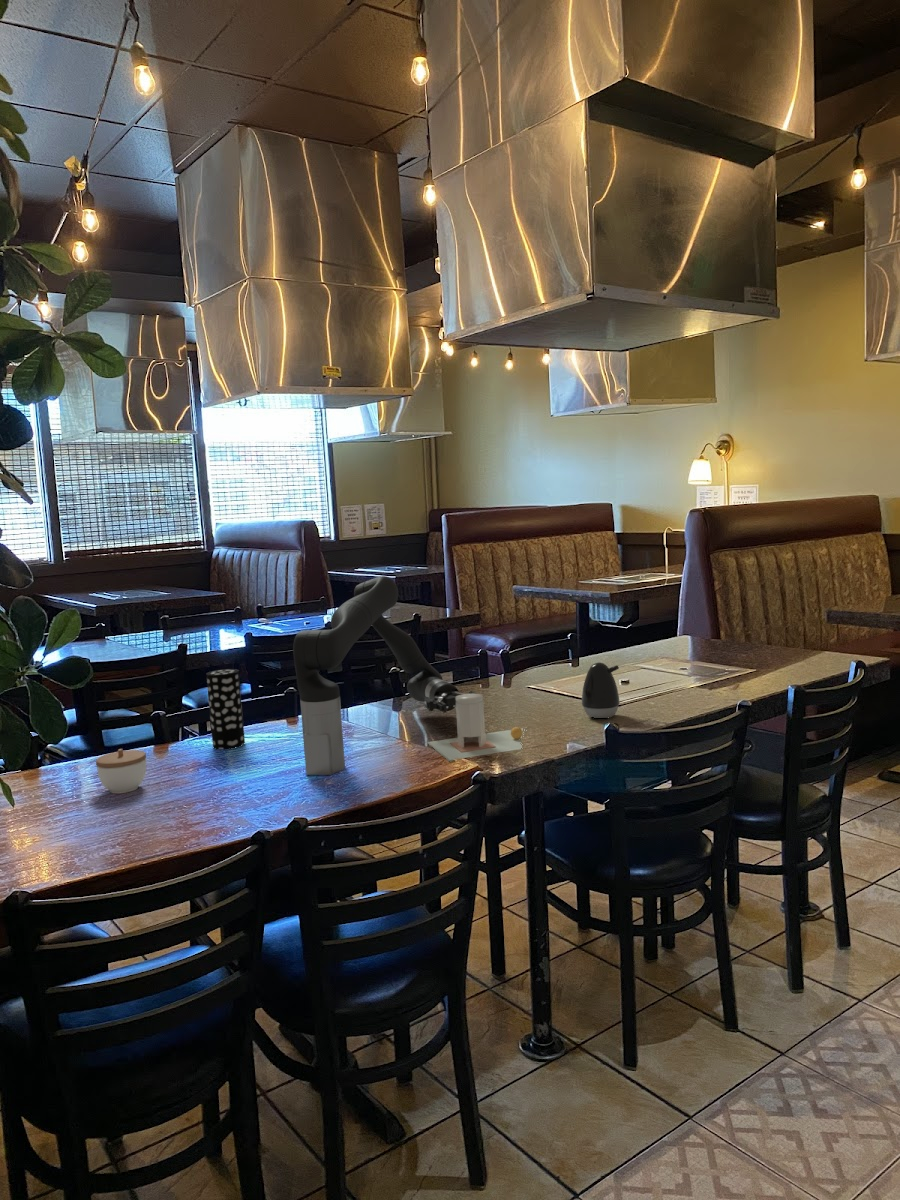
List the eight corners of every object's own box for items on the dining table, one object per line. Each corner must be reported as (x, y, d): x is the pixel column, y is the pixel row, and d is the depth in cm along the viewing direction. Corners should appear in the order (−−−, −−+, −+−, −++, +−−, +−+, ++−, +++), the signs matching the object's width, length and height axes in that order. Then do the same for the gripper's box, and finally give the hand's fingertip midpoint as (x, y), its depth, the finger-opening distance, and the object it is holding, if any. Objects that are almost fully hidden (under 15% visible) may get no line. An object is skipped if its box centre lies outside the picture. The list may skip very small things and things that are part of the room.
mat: (535, 728, 232) (535, 725, 232) (564, 744, 215) (564, 741, 215) (427, 743, 222) (427, 741, 222) (449, 762, 205) (449, 759, 205)
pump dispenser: (618, 722, 233) (615, 666, 231) (579, 721, 236) (576, 666, 235) (623, 712, 242) (621, 659, 241) (586, 712, 246) (583, 659, 244)
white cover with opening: (489, 745, 215) (486, 697, 213) (463, 749, 213) (460, 700, 211) (480, 739, 221) (477, 692, 220) (454, 743, 219) (451, 695, 218)
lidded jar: (91, 791, 200) (87, 751, 199) (136, 779, 207) (132, 740, 206) (111, 800, 192) (106, 759, 191) (157, 787, 200) (153, 747, 199)
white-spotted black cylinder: (250, 741, 236) (244, 668, 234) (235, 750, 228) (228, 675, 226) (223, 741, 238) (216, 669, 236) (207, 749, 230) (200, 675, 228)
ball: (521, 740, 219) (521, 728, 218) (510, 740, 219) (509, 728, 219) (523, 737, 222) (522, 725, 221) (511, 737, 222) (511, 725, 222)
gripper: (416, 684, 235) (433, 695, 220) (465, 678, 240) (486, 688, 224) (417, 711, 236) (435, 724, 221) (467, 704, 241) (488, 717, 225)
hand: (461, 706), depth 223 cm, fingers open, 8 cm apart
